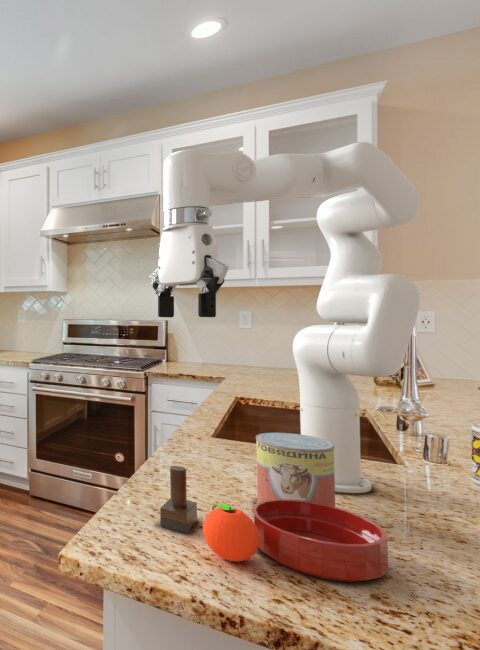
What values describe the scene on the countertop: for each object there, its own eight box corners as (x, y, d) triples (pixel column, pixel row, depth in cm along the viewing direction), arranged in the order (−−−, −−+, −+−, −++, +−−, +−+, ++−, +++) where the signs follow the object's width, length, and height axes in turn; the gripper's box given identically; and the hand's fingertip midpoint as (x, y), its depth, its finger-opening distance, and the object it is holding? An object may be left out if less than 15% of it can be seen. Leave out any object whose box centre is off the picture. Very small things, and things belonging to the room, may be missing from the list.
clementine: (189, 544, 70) (188, 496, 71) (234, 541, 71) (233, 494, 71) (222, 573, 62) (221, 518, 63) (272, 570, 63) (271, 516, 63)
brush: (172, 514, 81) (171, 461, 81) (197, 520, 78) (196, 465, 79) (160, 526, 76) (159, 470, 77) (186, 533, 74) (185, 475, 74)
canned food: (253, 512, 81) (251, 442, 81) (260, 492, 90) (259, 429, 90) (336, 530, 74) (334, 453, 74) (335, 506, 83) (334, 438, 83)
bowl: (261, 522, 77) (261, 491, 77) (385, 551, 68) (385, 516, 68) (243, 560, 66) (242, 523, 66) (390, 601, 56) (389, 558, 56)
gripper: (243, 213, 78) (243, 317, 78) (168, 231, 94) (167, 317, 94) (207, 209, 76) (207, 316, 75) (136, 229, 92) (136, 317, 92)
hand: (185, 317), depth 85 cm, fingers open, 9 cm apart
